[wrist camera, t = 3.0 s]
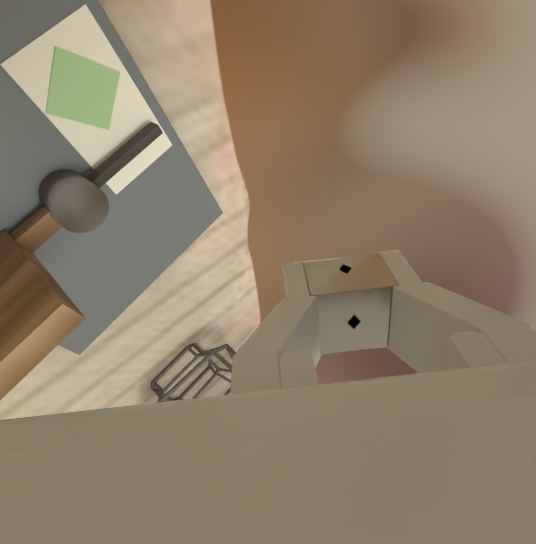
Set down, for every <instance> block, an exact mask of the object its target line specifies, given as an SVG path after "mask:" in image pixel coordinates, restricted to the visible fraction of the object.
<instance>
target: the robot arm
mask: <svg viewBox="0 0 536 544" xmlns="http://www.w3.org/2000/svg"><path fill="white" fill-rule="evenodd" d="M282 266H283V276H284V285H285V294H286V299H283V300H281V301H280V302H279V303H278V305H277V306H276V307H275V308H274V309H273V310H272V312H271V313H270V314H269V315H268V316H267V317H266V319H265V320H264V321H263V322H262V323H261V324H260V326H259V327H258V328H257V329H256V330H255V331H254V333H253V334H252V335H251V336H250V337H249V338H248V340H247V341H246V342H245V343H244V344H243V345H242V347H241V348H240V349H239V350H238V351H237V352H236V354H235V355H234V356H233V359H232V375H231V391H230V395H221V396H212V397H203V398H194V399H185V400H177V401H168V402H159V403H150V404H141V405H132V406H123V407H114V408H105V409H96V410H87V411H78V412H69V413H61V414H52V415H43V416H34V417H25V418H16V419H7V420H0V544H536V332H535V331H534V330H533V329H532V328H531V327H530V325H529V324H527V323H525V322H523V321H520V320H518V319H516V318H513V317H511V316H508V315H506V314H503V313H501V312H499V311H496V310H494V309H491V308H489V307H487V306H484V305H482V304H480V303H477V302H475V301H472V300H470V299H468V298H465V297H463V296H460V295H458V294H455V293H453V292H451V291H448V290H446V289H443V288H441V287H439V286H436V285H434V284H432V283H429V282H425V283H422V282H421V280H420V279H419V277H418V276H417V275H416V273H415V272H414V271H413V269H412V268H411V266H410V265H409V264H408V262H407V261H406V260H405V258H404V257H403V255H402V254H401V253H400V251H399V250H390V251H384V252H378V253H371V254H364V255H357V256H351V257H343V258H331V259H321V260H311V261H302V262H301V261H299V262H292V263H285V264H283V265H282ZM383 347H388V349H389V350H391V351H392V352H393V353H394V354H396V355H397V356H398V357H399V358H401V359H402V360H403V361H405V362H406V363H407V364H408V365H410V366H411V367H412V368H413V369H415V370H416V371H417V372H418V374H409V375H400V376H391V377H382V378H373V379H364V380H355V381H346V382H337V383H328V384H318V380H317V375H316V370H315V367H316V365H317V363H318V361H319V359H320V357H321V356H320V355H323V354H329V353H337V352H343V351H351V350H361V349H371V348H383Z"/></svg>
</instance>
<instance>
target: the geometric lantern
mask: <svg viewBox="0 0 536 544" xmlns="http://www.w3.org/2000/svg"><path fill="white" fill-rule="evenodd" d="M193 346H194V347H195V348H196V349H197V350H198V351H199V352H200V353H198V354H196V353H195V352H194V351H193V350H192V349H191V347H193ZM225 348H226V349H227V351H228V353H229V355H230V357H231V358H232V359H233V356H234V355H235V354H236V352H235V351H234V350H233V349H232V348H231V347H230V346H229V345H228V344H225V345H222V346H220V347H218V348H214V349H210V350H207V351H202V350H201V349H200V348H199V347H198V346H197V345H196V344H192V345H190V346H188V347H186V348H185V349H184V350H183V351H182V352H181V353H180V354H179V355H178V356H177V357H176V358H175V359H174V360H173V361H172V362H171V363H170V364H169V365H168V366H167V367H166V368H165V369H164V370H163V371H162V372H161V373H160V374H159V375H158V376H157V377H156V378H155V379H154V380H153V381H152V383H151V389H152V390H153V391H154V392H155V393H156V394H157V395H158V397H159V399H158V403H159V402H164V401H165V402H168V401H177V400H183V399H182V397H183V396H184V395H185V394H186V393H187V392H188V391H189V390H190V389H191V388H192V387H193V386H194V385H195V384H196V383H197V382H198V381H199V379H200V378H201V377H202V376H203V375H204V374H205V373H206V372H207V371H208V370H209V369H211V370H212V371H213V373H214V375H213V376H212V377H211V378H210V379H209V380H208V381H207V383H206V384H205V385H204V386H203V387H202V388H201V389H200V390H199V392H198V393H197V394H196V395H195V396H194V397H193V398H192V399H194V398H196V397H197V396H198V395H199V394H200V393H201V392H202V391H203V390H204V388H205V387H206V386H207V385H208V384H209V383H210V382H211V381H212V379H213V378H214V377H215V376H216V375H218V376H220V377H221V378H223V379H225V380H226V381H228V382H230V383H231V380H229V379H228V378H226V377H224V376H223V375H221V374H219V373H218V371H225V372H232V365H231V364H229V363H228V362H227V361H226V360H225V359H224V358H223V357H222V356H221V355H219V354H218V353H217V352H219V351H221V350H223V349H225ZM187 350H189V351H190V352H191V353H192V354H193V355H194V356H195V358H194V359H193V360H192V361H191V362H190V363H189V364H188V365H187V366H186V367H185V368H184V369H183V370H182V371H181V372H180V373H179V374H178V375H177V376H176V377H175V378H174V379H173V380H172V381H171V382H170V383H169V384H168V385H167V386H166V387H165V388H164V389H162V388H161V387H160V386H159V385H158V384H157V383H155V382H156V381H157V380H158V379H159V378H160V377H161V376H162V375H163V374H164V373H165V372H166V371H167V370H168V369H169V368H170V367H171V366H172V365H173V364H174V363H175V362H176V361H177V360H178V359H179V358H180V357H181V356H182V355H183V354H184V353H185V352H186V351H187ZM213 355H215V356H216V357H217V358H218V359H219V360H220V361H221V362H222V363H223V364H224V365H225V366H227V367H228V368H229V369H230V370H228V369H222V368H219V367H218V366H217V365H216V364H215V363H214V362H213V361H212V360H211V359H210V357H211V356H213ZM199 356H204V357H205V358H204V359H203V360H202V361H200V362H199V363H198V364H197V365H196V366H195V367H194V368H193V369H192V370H191V371H190V372H189V373H188V374H187V375H186V376H185V377H183V378H182V379H181V380H180V381H179V382H178V383H177V384H176V385H175V386H174V387H173V388H172V389H171V390H170V391H169V392H168V393H166V394H165V395H164V394H163V393H164V392H165V391H166V390H167V389H168V388H169V387H170V386H171V385H172V384H173V383H174V382H175V381H176V380H177V379H178V378H179V377H180V376H181V375H182V373H183V372H184V371H185V370H186V369H187V368H188V367H189V366H190V365H191V364H192V363H193V362H194V361H195V360H196V359H197V358H198V357H199ZM207 360H208V361H209V367H208V368H207V369H206V370H205V371H204V372H203V373H202V374H201V375H200V376H199V377H198V378H197V379H196V380H195V381H194V382H193V383H192V385H191V386H190V387H189V388H188V389H187V390H186V391H185V392H184V393H183V394H182V395H181V396H180V397H179V398H177V399H175V400H172V399H170V398H169V396H170V395H171V394H172V393H173V392H175V391H176V390H177V389H178V388H179V387H180V386H181V385H182V384H183V383H184V382H185V381H186V380H187V379H188V378H189V377H190V376H191V375H192V374H194V373H195V372H196V371H197V370H198V369H199V368H200V367H201V366H202V365H203V364H204V363H205V362H206V361H207ZM211 364H212V365H213V366H214V367H215V368H216V369H217V370H216V371H215V370H214V369H213V368H212V367H211ZM154 383H155V384H154ZM154 385H155V386H156V387H157V388H158V389H159V390H160V391H161V392H160V391H158V390H156V389H155V388H154ZM230 391H231V387H230V389H229V390H228V391H227V392H226V393H225V394H224V395H228V394H229V393H230Z"/></svg>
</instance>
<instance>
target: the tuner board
mask: <svg viewBox="0 0 536 544" xmlns="http://www.w3.org/2000/svg"><path fill="white" fill-rule="evenodd" d="M150 122H153V123H155V124H157V125H159V127H160V129H161V130H162V132H163V134H161V135H160V136H159V137H158V138H157V139H156V140H154V141H153V142H152V143H151V144H150V145H149V146H148V147H146V148H145V149H144V150H143V151H142V152H141V153H140V154H138V155H137V156H136V157H135V158H134V159H133V160H131V161H130V162H129V163H128V164H127V165H126V166H125V167H123V168H122V169H121V170H120V171H119V172H118V173H117V174H115V175H114V176H113V177H112V178H111V179H110V180H108V181H107V182H106V183H105V184H104V185H103V186H102V187H100V189H101V190H102V191H103V192H104V193H105V195H106V196H107V199H108V202H109V212H108V215H107V217H106V219H105V221H104V222H103V223H102V224H101V225H100V226H99V227H98V228H96V229H95V230H93V231H90V232H87V233H73V232H70V231H68V230H66V229H64V228H63V227H62V228H61V229H60V230H58V231H57V232H56V233H55V234H54V235H53V236H52V237H50V238H49V239H48V240H47V241H46V242H45V243H44V244H42V245H41V246H40V247H39V248H38V249H37V250H36V251H34V252H33V253H34V255H35V256H36V257H37V258H38V260H39V261H40V262H41V263H42V265H43V266H44V267H45V268H46V270H47V271H48V272H49V273H50V274H51V276H52V277H53V278H54V279H55V281H56V282H57V283H58V284H59V286H60V287H61V288H62V289H63V291H64V292H65V293H66V294H67V296H68V297H69V298H70V299H71V301H72V302H73V303H74V304H75V306H76V307H77V308H78V309H79V310H80V312H81V313H82V314H83V315H84V317H85V319H84V320H83V321H82V322H81V323H80V324H79V325H78V326H77V327H76V328H75V329H74V330H73V331H72V332H71V333H69V334H68V335H67V336H66V337H65V338H64V339H63V340H62V341H61V342H60V343H59V344H58V345H60V346H62V347H64V348H66V349H68V350H70V351H72V352H74V353H76V354H79V355H80V354H81V353H82V352H83V351H84V350H85V349H86V348H87V347H88V346H89V345H90V344H91V343H92V342H93V341H94V340H95V339H96V338H97V337H98V336H99V335H100V334H101V333H102V332H103V331H104V330H105V329H106V328H107V327H108V326H109V325H110V324H111V323H112V322H113V321H114V320H115V319H116V318H117V317H118V316H119V315H120V314H121V313H122V312H123V311H124V310H125V309H126V308H127V307H128V306H129V305H130V304H131V303H132V302H133V301H134V300H135V299H136V298H137V297H138V296H140V295H141V294H142V293H143V292H144V291H145V290H146V289H147V288H148V287H149V286H150V285H151V284H152V283H153V282H154V281H155V280H156V279H157V278H158V277H159V276H160V275H161V274H162V273H163V272H164V271H165V270H166V269H167V268H168V267H169V266H170V265H171V264H172V263H173V262H174V261H175V260H176V259H177V258H178V257H179V256H180V255H181V254H182V253H183V252H184V251H185V250H186V249H187V248H188V247H189V246H190V245H191V244H192V243H193V242H194V241H195V240H196V239H197V238H198V237H199V236H200V235H201V234H202V233H203V232H204V231H205V230H206V229H207V228H208V227H209V226H210V225H211V224H212V223H213V222H214V221H215V220H216V219H217V218H218V217H219V216H220V215H221V214H222V213H223V212H222V210H221V209H220V207H219V205H218V204H217V202H216V200H215V199H214V197H213V195H212V193H211V192H210V190H209V188H208V187H207V185H206V183H205V181H204V180H203V178H202V176H201V175H200V173H199V171H198V170H197V168H196V166H195V164H194V163H193V161H192V159H191V158H190V156H189V154H188V153H187V151H186V149H185V147H184V146H183V144H182V142H181V141H180V139H179V137H178V135H177V134H176V132H175V130H174V129H173V127H172V125H171V124H170V122H169V120H168V118H167V117H166V115H165V113H164V112H163V110H162V108H161V106H160V105H159V103H158V101H157V100H156V98H155V96H154V95H153V93H152V91H151V89H150V88H149V86H148V84H147V83H146V81H145V79H144V78H143V76H142V74H141V72H140V71H139V69H138V67H137V66H136V64H135V62H134V60H133V59H132V57H131V55H130V54H129V52H128V50H127V49H126V47H125V45H124V43H123V42H122V40H121V38H120V37H119V35H118V33H117V31H116V30H115V28H114V26H113V25H112V23H111V21H110V20H109V18H108V16H107V14H106V13H105V11H104V9H103V8H102V6H101V4H100V2H99V1H98V0H0V233H2V232H3V231H4V230H7V231H8V232H9V233H12V232H13V231H14V230H16V229H17V228H18V227H19V226H20V225H22V224H23V223H24V222H25V221H26V220H27V219H29V218H30V217H31V216H32V215H33V214H35V213H36V212H37V211H38V210H39V209H40V208H42V207H43V206H42V205H41V203H40V199H39V189H40V186H41V184H42V182H43V181H44V180H45V179H46V178H47V177H48V176H49V175H50V174H52V173H54V172H57V171H61V170H70V171H75V172H77V173H79V174H81V175H82V176H84V177H86V176H87V175H88V174H90V173H91V172H92V171H93V170H94V169H95V168H97V167H98V166H99V165H100V164H101V163H103V162H104V161H105V160H106V159H107V158H108V157H110V156H111V155H112V154H113V153H114V152H115V151H117V150H118V149H119V148H120V147H121V146H122V145H124V144H125V143H126V142H127V141H128V140H130V139H131V138H132V137H133V136H134V135H135V134H137V133H138V132H139V131H140V130H141V129H142V128H144V127H145V126H146V125H147V124H148V123H150Z"/></svg>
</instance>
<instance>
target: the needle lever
mask: <svg viewBox="0 0 536 544" xmlns="http://www.w3.org/2000/svg"><path fill="white" fill-rule="evenodd" d="M161 134H163V132H162V130H161V129H160V127H159V125H157V124H155V123H153V122H150V123H148V124H147V125H146V126H145V127H144V128H142V129H141V130H140V131H139V132H138V133H137V134H135V135H134V136H133V137H132V138H131V139H130V140H128V141H127V142H126V143H125V144H124V145H122V146H121V147H120V148H119V149H118V150H117V151H115V152H114V153H113V154H112V155H111V156H110V157H108V158H107V159H106V160H105V161H104V162H103V163H101V164H100V165H99V166H98V167H97V168H95V169H94V170H93V171H92V172H91V173H90V174H88V175H87V176H86V177H84V176H82V175H81V174H79V173H77V172H75V171H70V170H61V171H57V172H54V173H52V174H50V175H49V176H48V177H47V178H46V179H45V180H44V181H43V182H42V184H41V186H40V189H39V199H40V203H41V205H42V206H43V207H42V208H40V209H39V210H38V211H37V212H36V213H35V214H33V215H32V216H31V217H30V218H29V219H27V220H26V221H25V222H24V223H23V224H22V225H20V226H19V227H18V228H17V229H16V230H14V231H13V232H12V233H9V232H8V231H7V230H4V231H3V232H2V233H0V400H1V399H2V398H3V397H4V396H5V395H6V394H7V393H8V392H9V391H10V390H11V389H13V388H14V387H15V386H16V385H17V384H18V383H19V382H20V381H21V380H22V379H23V378H24V377H25V376H26V375H27V374H28V373H29V372H30V371H31V370H32V369H33V368H34V367H35V366H36V365H37V364H38V363H39V362H40V361H42V360H43V359H44V358H45V357H46V356H47V355H48V354H49V353H50V352H51V351H52V350H53V349H54V348H55V347H56V346H57V345H58V344H59V343H60V342H61V341H62V340H63V339H64V338H65V337H66V336H67V335H68V334H69V333H71V332H72V331H73V330H74V329H75V328H76V327H77V326H78V325H79V324H80V323H81V322H82V321H83V320H84V319H85V317H84V315H83V314H82V313H81V312H80V310H79V309H78V308H77V307H76V306H75V304H74V303H73V302H72V301H71V299H70V298H69V297H68V296H67V294H66V293H65V292H64V291H63V289H62V288H61V287H60V286H59V284H58V283H57V282H56V281H55V279H54V278H53V277H52V276H51V274H50V273H49V272H48V271H47V270H46V268H45V267H44V266H43V265H42V263H41V262H40V261H39V260H38V258H37V257H36V256H35V255H34V253H33V252H34V251H36V250H37V249H38V248H39V247H40V246H41V245H42V244H44V243H45V242H46V241H47V240H48V239H49V238H50V237H52V236H53V235H54V234H55V233H56V232H57V231H58V230H60V229H61V228H62V227H63V228H64V229H66V230H68V231H70V232H73V233H87V232H90V231H93V230H95V229H96V228H98V227H99V226H100V225H101V224H102V223H103V222H104V221H105V219H106V217H107V215H108V212H109V202H108V199H107V196H106V195H105V193H104V192H103V191H102V190H101V189H100V187H102V186H103V185H104V184H105V183H106V182H107V181H108V180H110V179H111V178H112V177H113V176H114V175H115V174H117V173H118V172H119V171H120V170H121V169H122V168H123V167H125V166H126V165H127V164H128V163H129V162H130V161H131V160H133V159H134V158H135V157H136V156H137V155H138V154H140V153H141V152H142V151H143V150H144V149H145V148H146V147H148V146H149V145H150V144H151V143H152V142H153V141H154V140H156V139H157V138H158V137H159V136H160V135H161Z"/></svg>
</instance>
